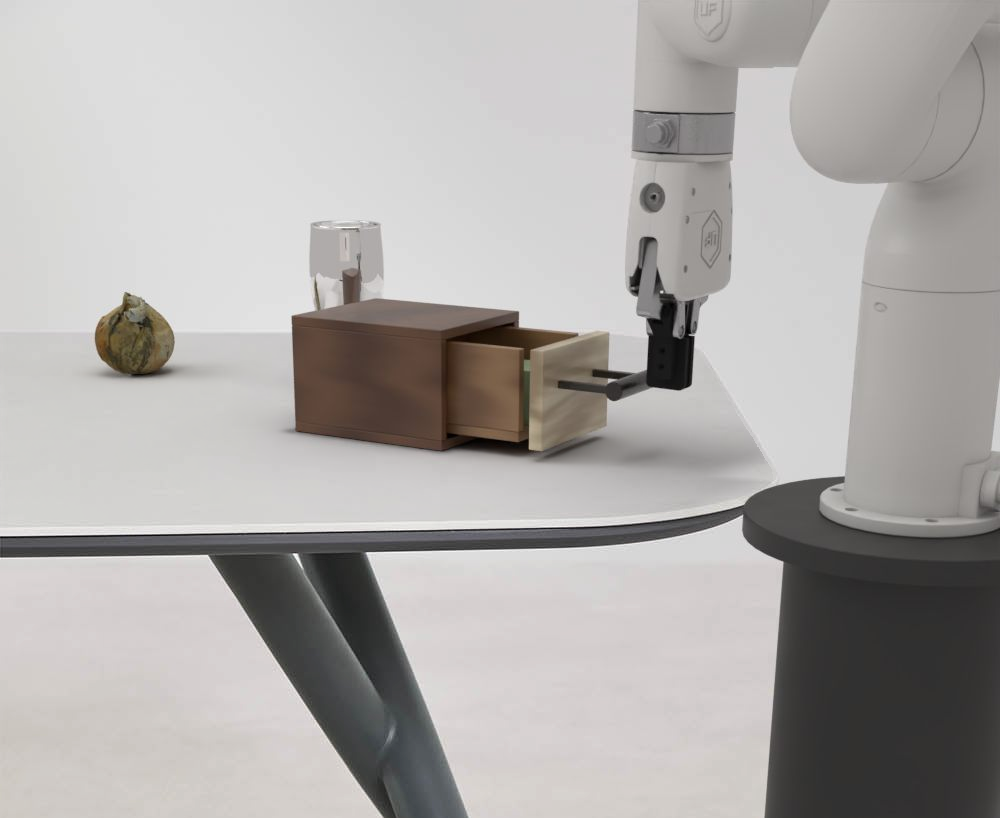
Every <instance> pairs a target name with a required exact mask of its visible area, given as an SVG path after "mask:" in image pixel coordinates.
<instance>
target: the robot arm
mask: <svg viewBox="0 0 1000 818" xmlns="http://www.w3.org/2000/svg"><path fill="white" fill-rule="evenodd" d="M635 38H636V39H635V42H636V43H635V60H634V61H635V62H634V83H633V85H634V86H633V106H632V107H633V109H632V110H633V111H632V126H631V127H632V129H631V130H632V131H631V151H630V158H631V159H636V160H635V165H634V170H633V175H632V176H633V177H632V185H631V192H630V199H629V208H628V217H627V229H626V240H625V241H626V242H625V258H624V259H625V260H624V262H625V263H624V266H625V267H624V281H625V282H624V283H625V288H626V291H627V292H628V293H629V294H630V295H631V296H633V297H635V298H636V297H637V300H636V301H637V302H636V308H635V313H636V315H637V317H641V318H644V319H645V326H646V327H645V329H646V330H645V331H646V335H647V337H648V338H647V339H648V340H647V360H646V370H647V376H646V383H647V385H648V386H649V387H653V388H654V389H661V390H662V389H663V390H671V391H678V392H679V391H680V392H681V391H683V390H685V389H688V388H690V387H691V386H692V384H693V375H694V373H693V372H694V358H695V340H696V334H697V331H698V328H699V327H698V326H699V319H700V309H701V307H702V306H703V305H704V304H705V303H706V302H707V301H708V299H709V296H710V295H712V294H716V293H719V292H721V291H722V290H724V289H725V288H726V287H727V286H728V285H729V283H730V281H731V276H732V275H731V273H732V251H733V179H732V169H731V166H732V165H731V161H733V160H734V159H733V157H734V141H735V139H734V138H735V126H736V112H737V101H738V99H737V98H738V84H739V70H740V69H772V68H797V69H796V71H795V75H794V77H793V78H794V79H793V82H792V87H791V91H790V100H789V123H790V124H789V125H790V131H791V135H792V139H793V143H794V144H795V148H796V149H797V151H798V152H799V154H800V156H801V158H802V159H803V161H804V162H805V163H806V164H807V165H808V166H809V167H810V168H811V169H812V170H814V171H815V172H817V173H818V174H820V175H821V176H823V177H825V178H827V179H830V180H833V181H835V182H839V183H845V184H855V185H857V184H858V185H860V184H861V185H869V184H870V185H871V184H872V185H873V184H877V185H878V184H887V185H886V187H885V188H884V191H883V194H882V196H881V197H880V200H879V203H878V204H877V208H876V210H875V213H874V215H873V218H872V221H871V224H870V228H869V231H868V235H867V239H866V244H865V249H864V255H863V256H864V257H863V262H862V264H863V265H862V276H861V287H860V298H859V307H858V308H859V310H858V318H857V319H858V320H857V322H858V323H857V331H856V342H855V343H856V344H855V353H854V354H855V355H854V366H853V377H852V390H851V401H850V413H849V424H848V436H847V447H846V449H847V450H846V459H845V471H844V476H845V481H844V483H842V484H837V485H834V486H832V487H829V488H827V489H826V490H825V491H823V492H822V493H821V495H820V506H819V510H820V512H821V513H822V514H823V516H825V517H826V518H828V519H829V520H831V521H833V522H835V523H837V524H840V525H843V526H846V527H849V528H853V529H857V530H861V531H865V532H871V533H877V534H882V535H891V536H899V537H912V538H958V537H969V536H975V535H981V534H985V533H989V532H992V531H995V530H997V529H999V528H1000V451H996V450H992V447H993V439H994V438H993V437H994V429H995V423H996V422H995V421H996V413H997V406H998V405H997V403H998V395H999V389H1000V388H999V387H1000V0H637V19H636V37H635ZM653 388H652V389H653Z"/></svg>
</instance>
